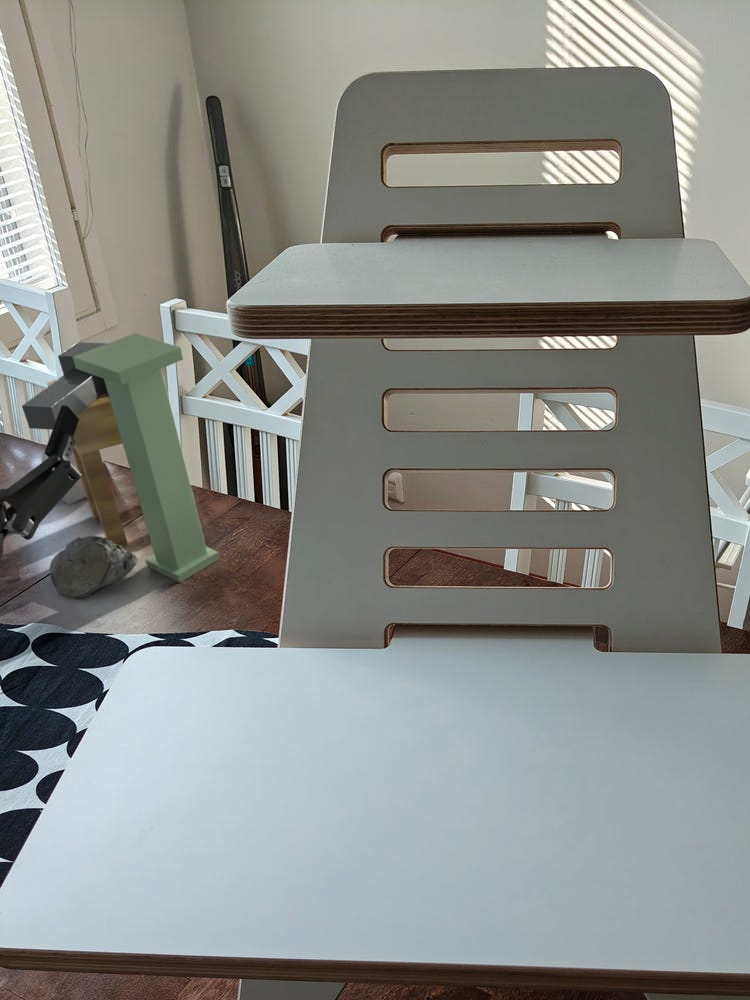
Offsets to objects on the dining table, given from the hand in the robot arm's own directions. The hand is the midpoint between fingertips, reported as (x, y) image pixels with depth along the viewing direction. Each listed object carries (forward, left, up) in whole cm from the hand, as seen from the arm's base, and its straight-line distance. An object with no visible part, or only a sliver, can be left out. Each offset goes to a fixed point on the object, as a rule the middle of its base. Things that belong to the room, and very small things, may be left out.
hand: (19, 409), depth 116 cm
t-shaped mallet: (-8, +7, -4) cm, 12 cm away
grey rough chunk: (0, +2, -25) cm, 25 cm away
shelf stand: (+3, +13, -25) cm, 29 cm away
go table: (-12, +11, -25) cm, 30 cm away
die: (-26, +5, -25) cm, 36 cm away
